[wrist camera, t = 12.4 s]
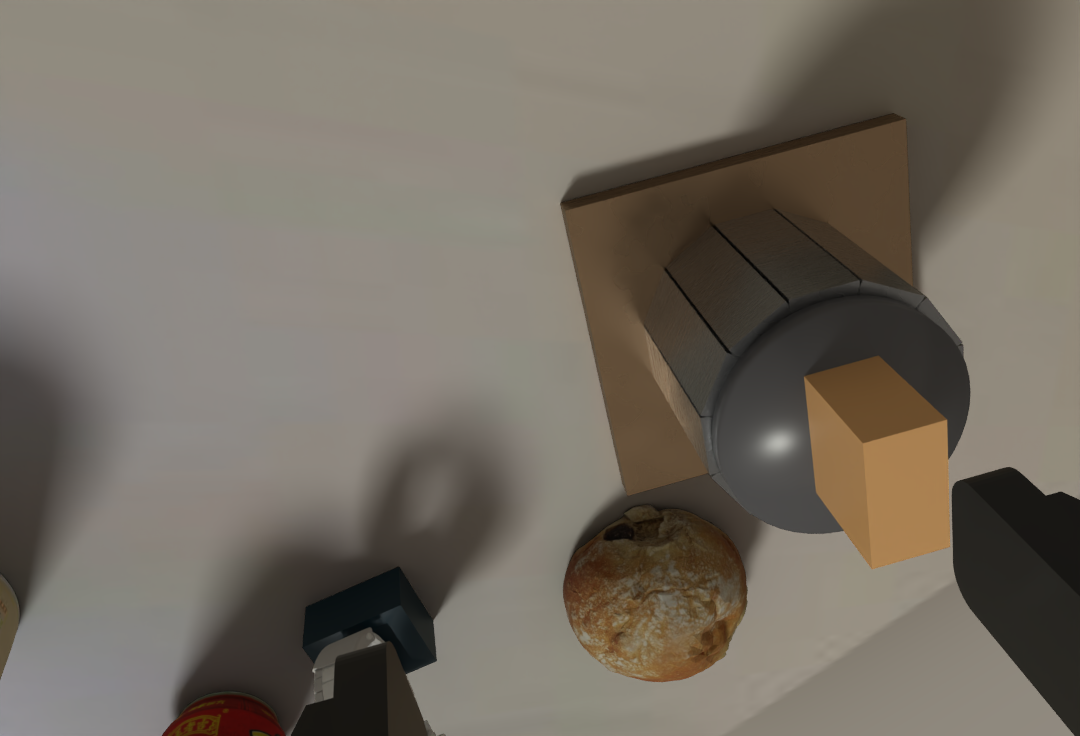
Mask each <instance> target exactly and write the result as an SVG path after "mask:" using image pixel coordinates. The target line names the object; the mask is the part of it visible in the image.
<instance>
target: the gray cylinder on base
mask: <svg viewBox="0 0 1080 736" xmlns="http://www.w3.org/2000/svg"><path fill="white" fill-rule="evenodd" d="M560 205H561V209H562V214H563V218H564V223H565V227H566V232H567V236H568V241H569V245H570V250H571V254H572V259H573V263H574V268H575V272H576V277H577V281H578V286H579V290H580V295H581V299H582V304H583V308H584V313H585V317H586V322H587V326H588V331H589V335H590V340H591V345H592V349H593V354H594V358H595V363H596V367H597V372H598V376H599V381H600V385H601V390H602V394H603V399H604V403H605V408H606V412H607V417H608V421H609V426H610V430H611V435H612V439H613V444H614V448H615V453H616V457H617V462H618V466H619V471H620V475H621V480H622V484H623V486H624V488H625V491H626V493H627V496H629V495H633V494H636V493H640V492H643V491H647V490H650V489H654V488H657V487H661V486H665V485H668V484H672V483H675V482H679V481H682V480H686V479H689V478H693V477H697V476H700V475H704V474H707V473H709V475H710V476H711V478H712V479H713V480H714V481H715V482H716V483H717V484H718V485H720V486H721V487H722V488H723V489H724V490H725V491H726V492H727V493H728V494H729V495H730V496H731V497H732V498H733V499H734V500H735V501H737V502H738V503H739V504H740V505H741V506H742V507H743V508H744V509H745V507H744V506H743V505H742V504H741V503H740V502H739V501H738V500H737V498H736V497H735V495H734V494H733V492H732V491H731V489H730V487H729V486H728V484H727V482H726V481H725V479H724V477H723V476H722V474H721V472H720V469H719V467H718V465H717V462H716V459H715V455H714V451H713V443H712V423H713V416H714V411H715V406H716V403H717V400H718V397H719V394H720V391H721V389H722V387H723V385H724V383H725V381H726V379H727V377H728V375H729V373H730V372H731V370H732V369H733V367H734V366H735V364H736V362H737V361H738V360H739V358H740V357H741V356H742V355H743V354H744V352H745V351H746V350H747V349H748V348H749V346H751V345H752V344H753V343H754V342H755V341H756V340H757V339H758V338H759V337H760V336H761V335H762V334H763V333H765V332H766V331H767V330H768V329H770V328H771V327H772V326H774V325H775V324H776V323H778V322H779V321H781V320H783V319H784V318H786V317H788V316H789V315H791V314H793V313H795V312H797V311H799V310H801V309H803V308H805V307H808V306H810V305H813V304H816V303H819V302H822V301H825V300H829V299H834V298H838V297H844V296H855V295H869V296H880V297H885V298H891V299H894V300H897V301H900V302H903V303H906V304H908V305H910V306H911V307H913V308H915V309H917V310H919V311H920V312H922V313H923V314H924V315H926V316H927V317H928V318H930V319H931V320H932V321H933V322H935V323H936V324H937V325H938V326H940V327H941V328H942V329H943V330H944V331H945V332H946V333H947V334H948V335H949V336H950V337H951V338H952V339H953V341H954V342H955V344H956V345H957V347H958V348H959V350H960V351H961V354H962V356H963V344H961V343H962V341H961V340H960V339H959V337H958V336H957V335H956V334H955V332H954V331H953V330H952V328H951V327H950V326H949V325H948V323H947V322H946V321H945V319H944V318H943V317H942V316H941V314H940V313H939V312H938V311H937V309H936V308H935V307H934V305H933V304H932V303H931V302H930V300H929V299H928V298H927V297H926V296H925V295H923V294H922V293H921V292H919V291H918V290H917V289H915V288H914V287H913V278H912V253H911V228H910V203H909V179H908V154H907V129H906V119H905V118H903V117H901V116H898V115H896V114H894V113H893V114H889V115H885V116H882V117H878V118H874V119H870V120H867V121H863V122H859V123H856V124H852V125H848V126H844V127H841V128H837V129H833V130H829V131H826V132H822V133H818V134H815V135H811V136H807V137H803V138H800V139H796V140H792V141H789V142H785V143H781V144H777V145H774V146H770V147H766V148H763V149H759V150H755V151H751V152H748V153H744V154H740V155H737V156H733V157H729V158H725V159H722V160H718V161H714V162H711V163H707V164H703V165H699V166H696V167H692V168H688V169H685V170H681V171H677V172H673V173H670V174H666V175H662V176H659V177H655V178H651V179H647V180H644V181H640V182H636V183H633V184H629V185H625V186H621V187H618V188H614V189H610V190H607V191H603V192H599V193H595V194H592V195H588V196H584V197H581V198H577V199H573V200H569V201H566V202H562V203H560ZM745 510H746V511H747V512H748V513H749V514H750V515H751V514H752V513H750V512H749V511H748V510H747V509H745ZM752 515H753V514H752ZM753 516H754V515H753Z"/></svg>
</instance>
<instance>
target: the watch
mask: <svg viewBox="0 0 1080 736" xmlns="http://www.w3.org/2000/svg"><path fill="white" fill-rule="evenodd" d="M387 641H390V642H391V643H392V644H393V646H394V648H395V650H396V652H397V655H398V657H399V660H400V662H401V665H402V667H403V670H404V672H405V675H406V674H408V673H410V672H412V671H415V670H417V669H419V668H422V667H424V666H426V665H429V664H431V663H433V662H436V661H437V659H436V647H435V636H434V624H433V620H432V618H431V617H430V615H429V614H428V612H427V610H426V609H425V607H424V606H423V604H422V603H421V601H420V599H419V598H418V596H417V595H416V593H415V591H414V590H413V588H412V587H411V585H410V583H409V582H408V580H407V579H406V577H405V575H404V574H403V572H402V571H401V569H400V568H399V567H397V568H395V569H392V570H390V571H388V572H386V573H383V574H381V575H379V576H376V577H374V578H372V579H369V580H367V581H365V582H362V583H360V584H358V585H356V586H353V587H351V588H349V589H346V590H344V591H342V592H339V593H337V594H335V595H333V596H330V597H328V598H326V599H323V600H321V601H319V602H316V603H314V604H312V605H309V606H307V607H306V611H305V623H304V635H303V647H302V648H303V649H304V650H305V652H306V653H307V655H308V656H309V657H310V659H311V660H312V661H313V663H314V667H313V669H312V671H313V672H314V673H315V675H314V680H315V681H314V693H315V703H317V702H320V701H324V700H327V699H331V698H333V690H334V667H335V660H336V657H337V656H338V655H342V654H345V653H349V652H352V651H356V650H359V649H363V648H366V647H370V646H373V645H377V644H380V643H384V642H387ZM406 677H407V676H406ZM408 682H409V681H408ZM409 685H410V683H409ZM410 687H411V685H410ZM411 690H412V688H411ZM412 692H413V690H412ZM413 695H414V692H413ZM415 700H416V699H415ZM416 702H417V701H416ZM417 705H418V704H417ZM424 723H425V727H426V731H427V734H428V736H436V734H435V733H434V732H433V731H432V729H431V727H430V725H429V723H428V721H427V720H426V721H424ZM439 736H446V735H445V734H441V735H439Z"/></svg>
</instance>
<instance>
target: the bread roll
mask: <svg viewBox="0 0 1080 736" xmlns="http://www.w3.org/2000/svg"><path fill="white" fill-rule="evenodd" d="M747 591H748V589H747V585H746V574H745V570H744V566H743V563H742V561H741V558H740V555H739V552H738V550H737V548H736V547H735V545H734V543H733V542H732V541H731V539H730V538H729V537H728V535H727V534H725V533H723V532H722V531H721V530H720V529H718V528H717V527H715V526H714V525H713V524H712V523H711V522H707V521H705V520H703V519H701V518H700V517H698V516H696V515H694V514H692V513H690V512H687V511H684V510H681V509H664V510H660V511H657V510H656V509H655V508H654V507H652V506H651V505H642V506H636V507H634V508H632V509H631V510H629V511H627V512H625V513H624V517H622V518H621V519H619V520H618V521H616V522H614V523H612V524H611V525H609V526H608V527H606V528H605V529H603V530H602V531H601V532H600V533H599V534H598V535H597V536H595V537H594V538H593V539H592V540H590V541H589V542H588V543H587V544H585V545H584V546H582V547H581V548H579V549H578V550H577V551H576V552H575V554H574V555H573V556H572V559H571V561H570V563H569V566H568V568H567V571H566V574H565V579H564V584H563V598H564V603H565V607H566V611H567V616H568V619H569V622H570V625H571V627H572V629H573V631H574V633H575V634H576V636H577V638H578V640H579V641H580V643H581V644H582V646H583V647H584V648H585V649H586V650H587V651H588V652H589V653H590V655H591V656H592V657H594V658H595V659H597V660H598V661H599V662H600V663H602V664H603V665H604V666H605V667H606V668H607V669H608V670H610V671H612V672H615V673H620V674H622V675H625V676H627V677H632V678H636V679H640V680H644V681H652V682H667V681H674V680H682V679H686V678H689V677H691V676H693V675H695V674H697V673H699V672H702V671H704V670H705V669H707V668H709V667H710V666H712V665H713V664H714V663H715V662H716V661H718V660H720V659H722V658H723V657H724V656H725V655H726V651H727V650H728V647H729V642H730V641H731V639H732V636H733V634H734V632H735V629H736V628H737V626H738V625H739V624H740V622H741V620H742V618H743V616H744V614H745V610H746V606H747V602H748V601H747Z"/></svg>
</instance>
